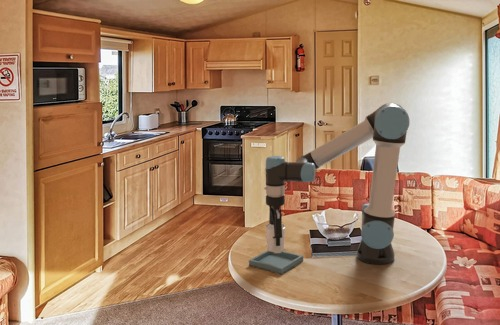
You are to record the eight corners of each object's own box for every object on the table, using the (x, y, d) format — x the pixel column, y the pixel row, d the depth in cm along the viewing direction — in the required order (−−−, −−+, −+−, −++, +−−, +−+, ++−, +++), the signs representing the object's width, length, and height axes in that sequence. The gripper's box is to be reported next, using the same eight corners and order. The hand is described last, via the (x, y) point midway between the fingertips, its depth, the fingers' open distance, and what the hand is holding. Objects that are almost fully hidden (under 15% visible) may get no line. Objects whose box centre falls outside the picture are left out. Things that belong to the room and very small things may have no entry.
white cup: (284, 253, 190) (284, 229, 188) (264, 252, 191) (264, 228, 189) (286, 246, 197) (286, 223, 195) (267, 245, 199) (267, 222, 197)
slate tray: (303, 261, 197) (303, 255, 196) (281, 274, 184) (281, 268, 184) (271, 253, 206) (271, 248, 206) (249, 265, 194) (248, 260, 193)
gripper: (261, 189, 199) (262, 240, 204) (270, 202, 179) (270, 259, 184) (279, 188, 200) (279, 239, 205) (289, 201, 180) (289, 257, 185)
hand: (275, 248), depth 194 cm, fingers closed on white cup, 8 cm apart
